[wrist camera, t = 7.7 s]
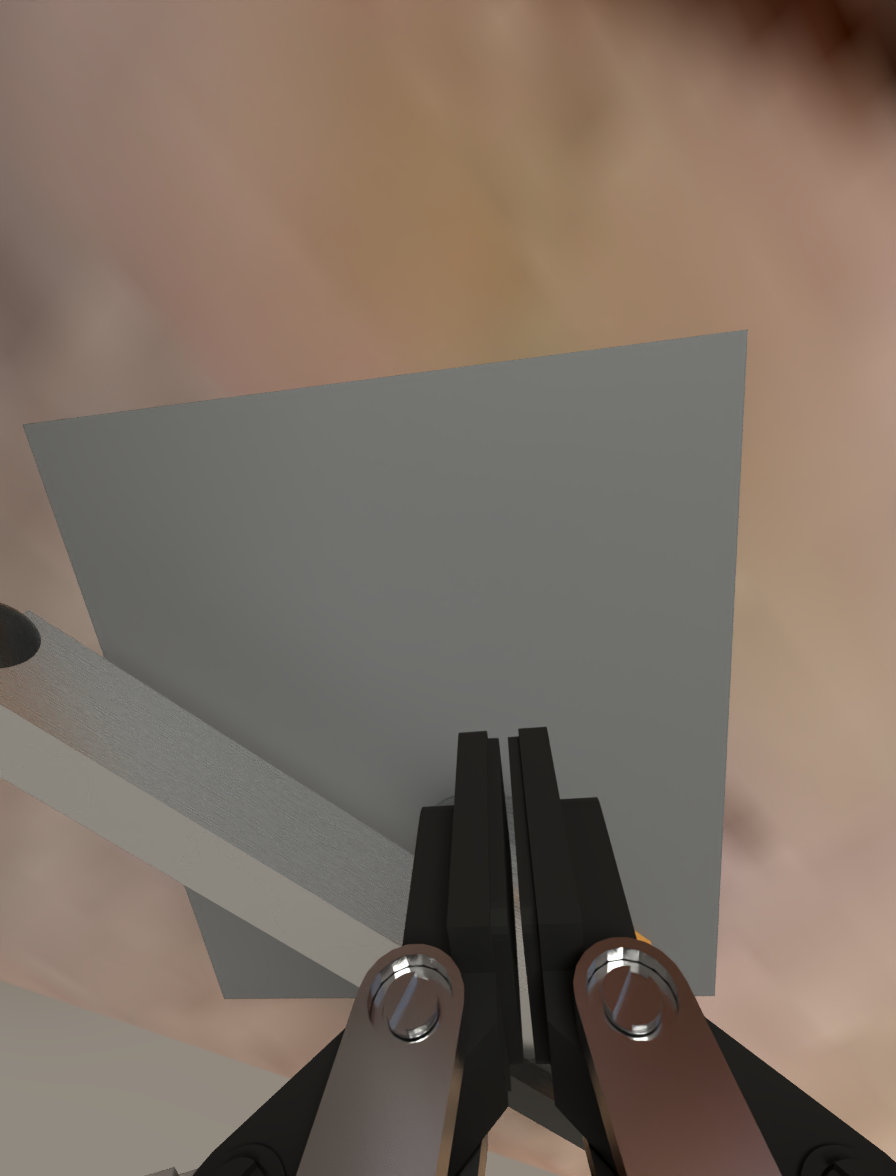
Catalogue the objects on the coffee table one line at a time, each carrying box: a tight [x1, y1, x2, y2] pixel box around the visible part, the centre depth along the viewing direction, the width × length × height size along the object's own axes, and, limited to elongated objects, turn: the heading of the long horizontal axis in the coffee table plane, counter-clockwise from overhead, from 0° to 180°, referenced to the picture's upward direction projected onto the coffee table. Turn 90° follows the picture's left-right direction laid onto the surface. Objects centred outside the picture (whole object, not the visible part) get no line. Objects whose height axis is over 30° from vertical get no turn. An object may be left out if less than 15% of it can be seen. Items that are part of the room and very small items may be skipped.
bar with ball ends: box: [0, 603, 585, 1150], centre depth 17 cm, size 25×5×8 cm, turn 53°
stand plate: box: [23, 330, 748, 999], centre depth 21 cm, size 26×22×2 cm
